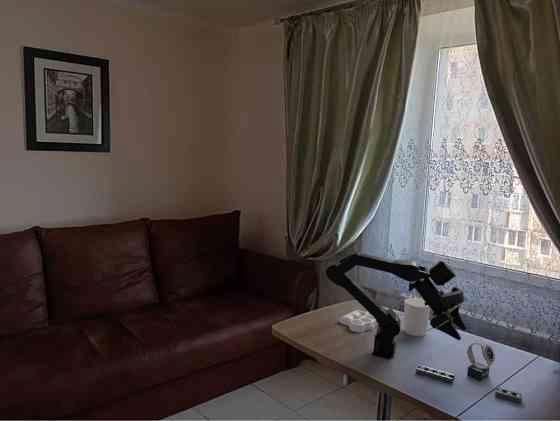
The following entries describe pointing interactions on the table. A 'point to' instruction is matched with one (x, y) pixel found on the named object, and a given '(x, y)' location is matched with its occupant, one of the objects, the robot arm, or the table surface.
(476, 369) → the watch
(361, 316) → the white lumpy slab
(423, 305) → the candle holder
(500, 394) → the perforated metal strips
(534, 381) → the table surface
